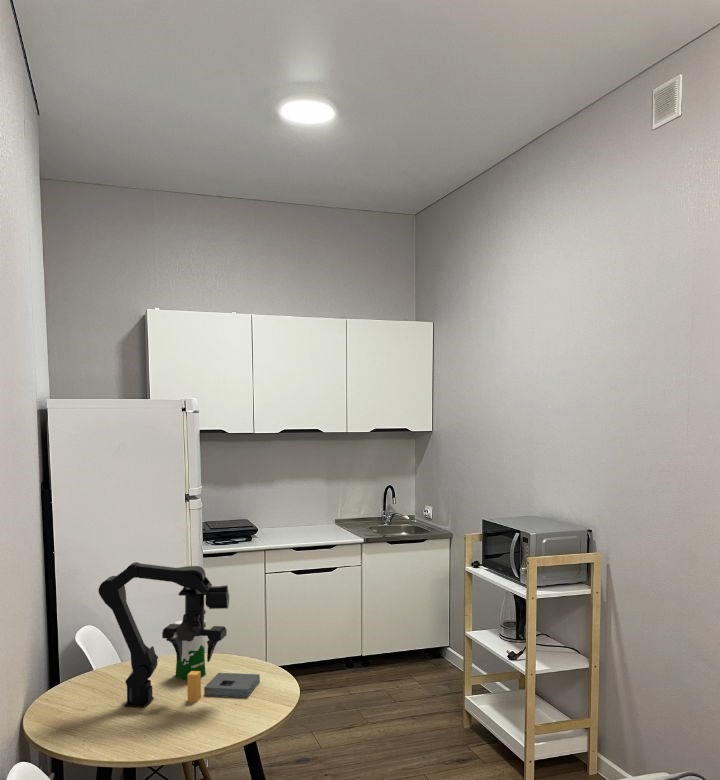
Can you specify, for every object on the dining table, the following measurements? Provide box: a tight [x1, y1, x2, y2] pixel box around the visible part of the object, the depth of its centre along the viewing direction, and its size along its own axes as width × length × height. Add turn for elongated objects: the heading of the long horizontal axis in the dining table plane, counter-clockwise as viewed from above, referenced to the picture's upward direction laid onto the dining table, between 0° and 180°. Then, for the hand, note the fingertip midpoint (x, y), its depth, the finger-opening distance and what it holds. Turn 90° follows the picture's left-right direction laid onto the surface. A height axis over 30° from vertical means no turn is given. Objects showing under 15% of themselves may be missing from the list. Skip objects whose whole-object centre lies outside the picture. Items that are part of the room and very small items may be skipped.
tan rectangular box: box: [186, 671, 202, 703], centre depth 205 cm, size 3×3×8 cm
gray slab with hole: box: [203, 672, 261, 699], centre depth 212 cm, size 14×12×2 cm
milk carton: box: [173, 619, 207, 681], centre depth 224 cm, size 9×9×20 cm
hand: (194, 660), depth 205 cm, fingers open, 9 cm apart
